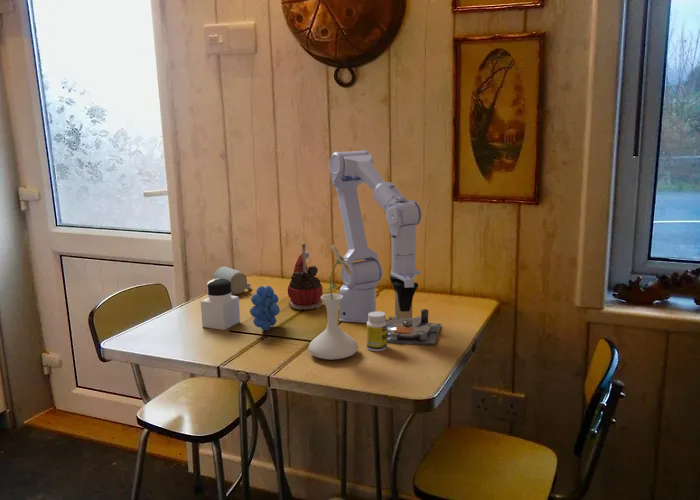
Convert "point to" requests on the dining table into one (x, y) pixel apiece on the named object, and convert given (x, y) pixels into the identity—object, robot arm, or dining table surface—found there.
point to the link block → (398, 312)
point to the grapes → (264, 307)
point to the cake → (304, 285)
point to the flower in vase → (333, 325)
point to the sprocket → (410, 327)
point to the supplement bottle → (376, 331)
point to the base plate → (429, 341)
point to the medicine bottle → (220, 306)
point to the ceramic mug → (233, 279)
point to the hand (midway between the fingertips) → (403, 308)
